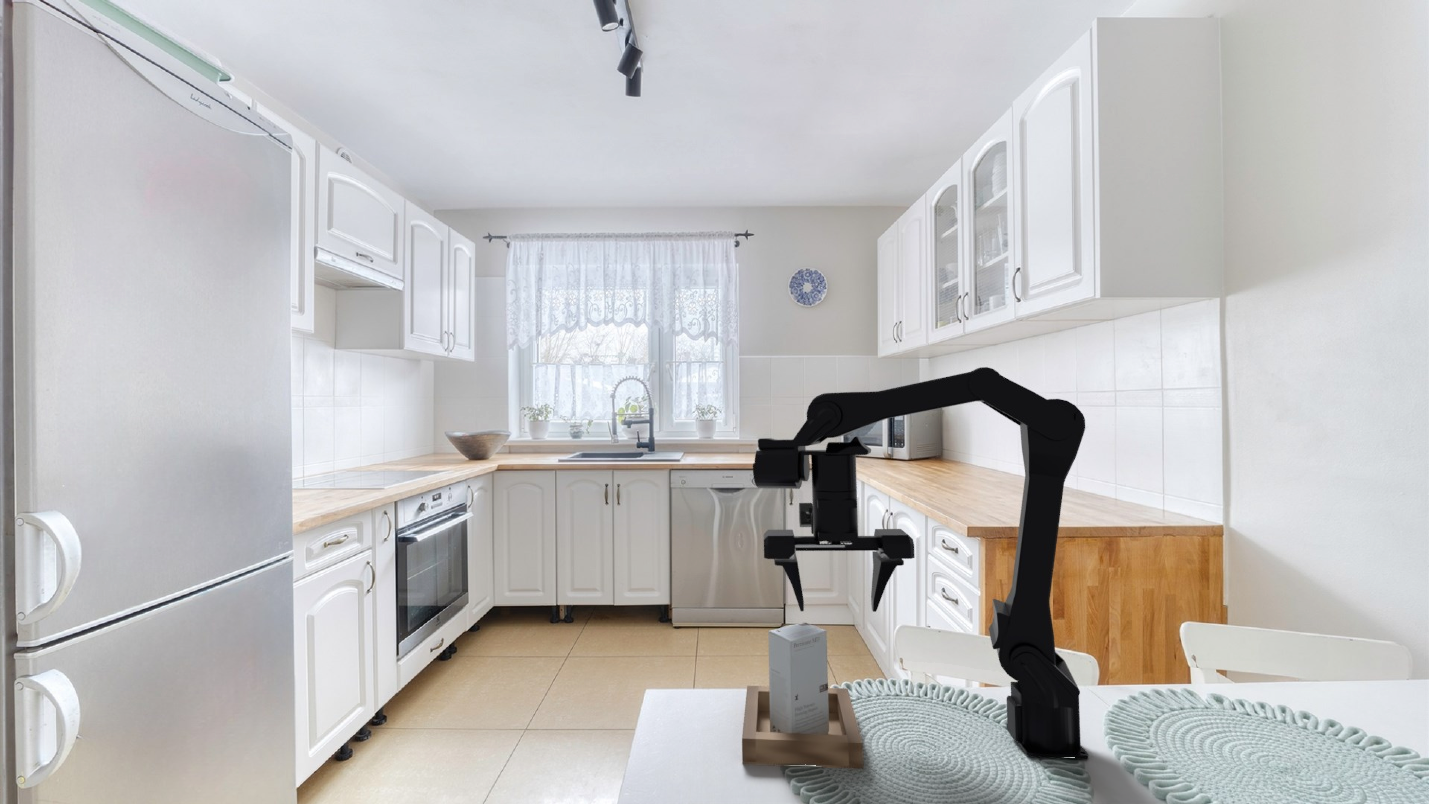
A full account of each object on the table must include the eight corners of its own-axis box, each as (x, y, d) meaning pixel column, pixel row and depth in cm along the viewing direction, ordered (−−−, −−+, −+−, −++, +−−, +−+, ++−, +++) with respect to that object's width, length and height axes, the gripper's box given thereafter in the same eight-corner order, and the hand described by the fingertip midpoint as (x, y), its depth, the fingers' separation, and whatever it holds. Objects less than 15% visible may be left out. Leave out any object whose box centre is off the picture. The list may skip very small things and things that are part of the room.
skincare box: (792, 749, 68) (790, 641, 68) (767, 732, 71) (765, 630, 72) (831, 732, 71) (829, 630, 71) (806, 717, 75) (804, 620, 75)
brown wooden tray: (848, 714, 77) (847, 688, 77) (863, 774, 64) (862, 743, 64) (747, 711, 78) (747, 685, 78) (742, 769, 65) (741, 738, 65)
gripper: (894, 482, 85) (897, 593, 84) (762, 484, 86) (765, 592, 86) (913, 491, 74) (917, 619, 73) (762, 493, 75) (765, 618, 75)
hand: (837, 610), depth 77 cm, fingers open, 9 cm apart
